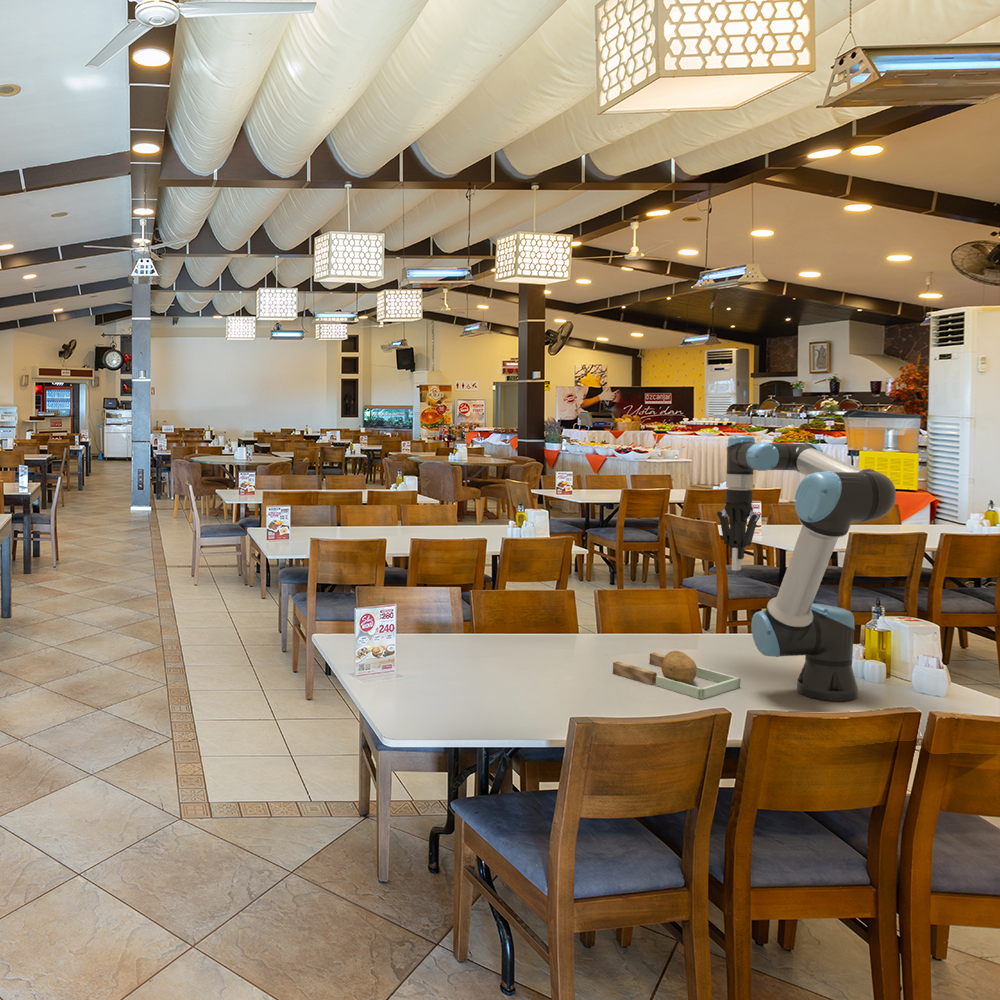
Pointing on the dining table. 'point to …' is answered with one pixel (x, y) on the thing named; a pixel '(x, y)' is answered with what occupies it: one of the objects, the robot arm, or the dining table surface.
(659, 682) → the frame
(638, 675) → the channel
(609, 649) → the dining table surface
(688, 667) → the potato
